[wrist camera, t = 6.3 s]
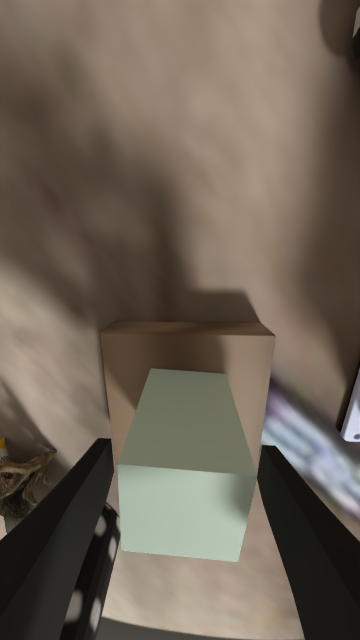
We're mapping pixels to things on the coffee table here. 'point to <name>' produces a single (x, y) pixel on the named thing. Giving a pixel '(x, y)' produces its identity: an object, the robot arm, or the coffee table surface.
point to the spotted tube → (93, 580)
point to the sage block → (185, 469)
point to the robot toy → (357, 35)
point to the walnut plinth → (187, 366)
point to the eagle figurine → (19, 485)
